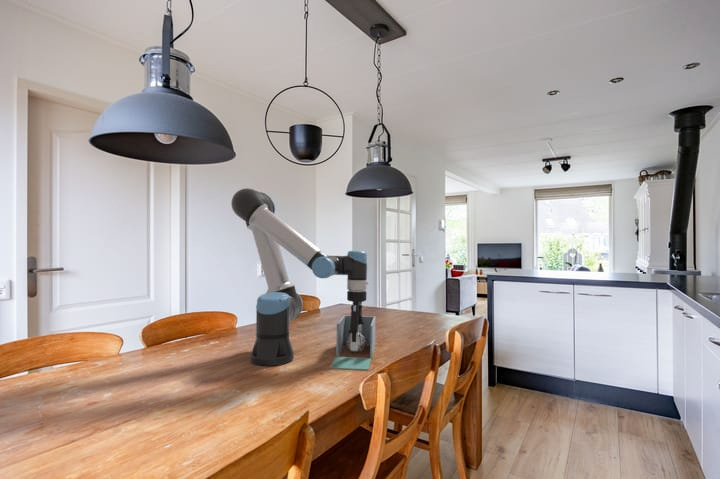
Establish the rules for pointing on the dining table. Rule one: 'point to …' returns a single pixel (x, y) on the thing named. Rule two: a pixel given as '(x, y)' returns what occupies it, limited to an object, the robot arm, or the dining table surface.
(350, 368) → the mat
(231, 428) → the dining table surface
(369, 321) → the slot box
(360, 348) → the game die
